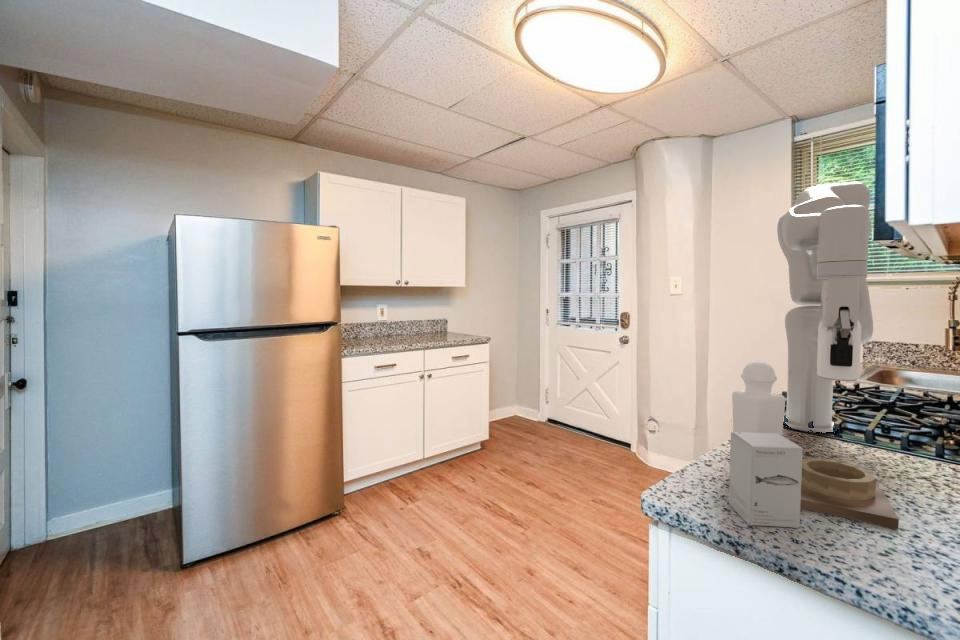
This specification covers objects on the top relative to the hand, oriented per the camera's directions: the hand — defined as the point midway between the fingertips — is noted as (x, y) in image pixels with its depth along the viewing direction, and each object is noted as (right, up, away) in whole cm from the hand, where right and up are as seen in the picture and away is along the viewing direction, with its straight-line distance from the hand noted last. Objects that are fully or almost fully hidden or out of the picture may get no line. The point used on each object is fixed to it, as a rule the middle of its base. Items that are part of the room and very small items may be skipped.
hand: (838, 362), depth 85 cm
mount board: (-8, -22, -9) cm, 25 cm away
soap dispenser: (-15, -22, +2) cm, 27 cm away
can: (0, -3, 0) cm, 3 cm away
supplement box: (-25, -23, -16) cm, 38 cm away
